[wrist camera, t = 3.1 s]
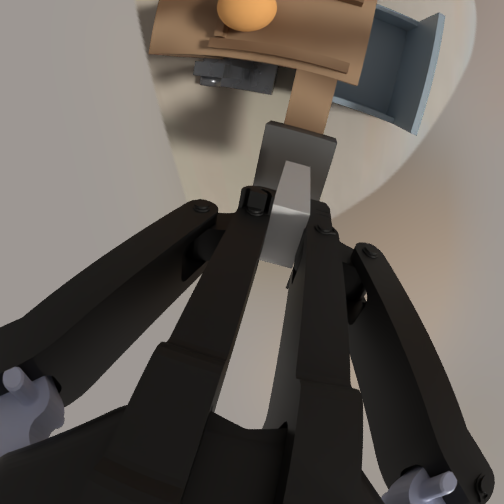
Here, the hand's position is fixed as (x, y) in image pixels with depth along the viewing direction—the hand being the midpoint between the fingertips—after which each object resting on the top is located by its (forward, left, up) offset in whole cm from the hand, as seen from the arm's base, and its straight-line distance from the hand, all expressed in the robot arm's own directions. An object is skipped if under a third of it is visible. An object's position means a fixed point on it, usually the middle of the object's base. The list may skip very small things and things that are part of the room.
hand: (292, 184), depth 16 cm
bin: (-11, +4, -15) cm, 19 cm away
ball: (-11, -6, -3) cm, 13 cm away
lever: (-7, -5, -10) cm, 13 cm away
